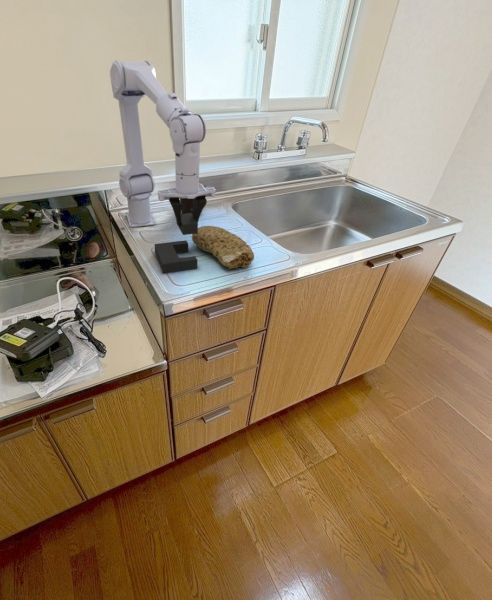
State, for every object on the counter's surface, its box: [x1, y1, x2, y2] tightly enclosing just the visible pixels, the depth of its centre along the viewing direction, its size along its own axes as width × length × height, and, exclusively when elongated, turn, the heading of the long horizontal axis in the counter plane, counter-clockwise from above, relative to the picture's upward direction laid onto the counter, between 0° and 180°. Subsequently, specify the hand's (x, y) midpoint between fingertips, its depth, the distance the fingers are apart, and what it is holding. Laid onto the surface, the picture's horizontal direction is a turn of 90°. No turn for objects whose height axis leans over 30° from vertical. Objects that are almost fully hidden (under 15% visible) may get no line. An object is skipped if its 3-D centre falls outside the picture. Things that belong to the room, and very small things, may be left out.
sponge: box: [191, 225, 255, 270], centre depth 91 cm, size 13×8×20 cm
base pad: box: [154, 239, 198, 274], centre depth 89 cm, size 11×10×3 cm
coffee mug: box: [179, 182, 207, 215], centre depth 112 cm, size 12×9×10 cm
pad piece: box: [178, 213, 199, 236], centre depth 85 cm, size 6×4×3 cm, turn 18°
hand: (186, 224), depth 85 cm, fingers closed on pad piece, 4 cm apart
